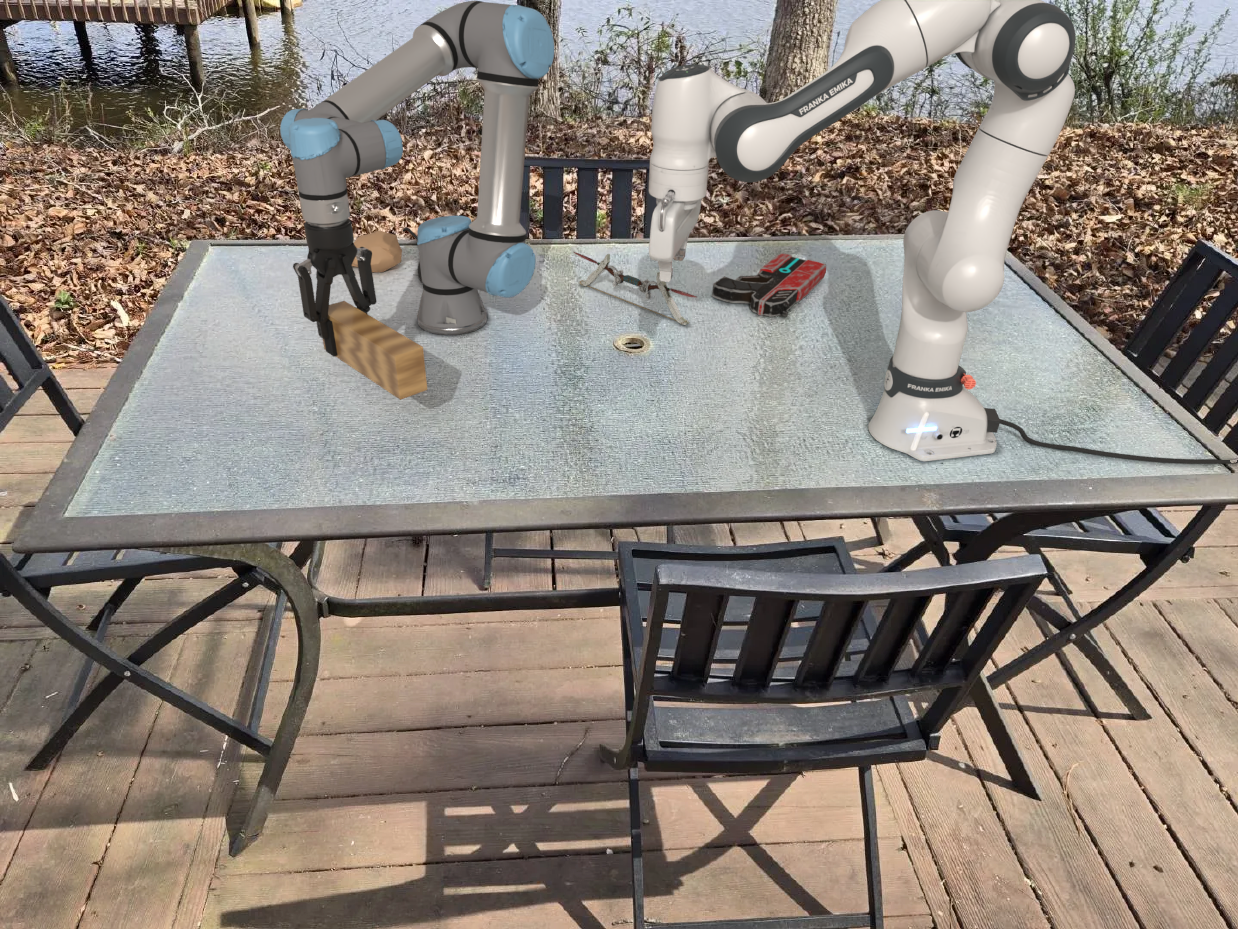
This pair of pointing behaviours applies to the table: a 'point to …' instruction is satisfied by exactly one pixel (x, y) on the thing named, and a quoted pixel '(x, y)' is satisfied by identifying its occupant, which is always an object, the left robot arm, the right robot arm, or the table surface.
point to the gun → (772, 285)
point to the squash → (380, 250)
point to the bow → (643, 285)
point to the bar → (378, 351)
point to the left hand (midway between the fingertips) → (347, 348)
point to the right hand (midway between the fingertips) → (672, 269)
